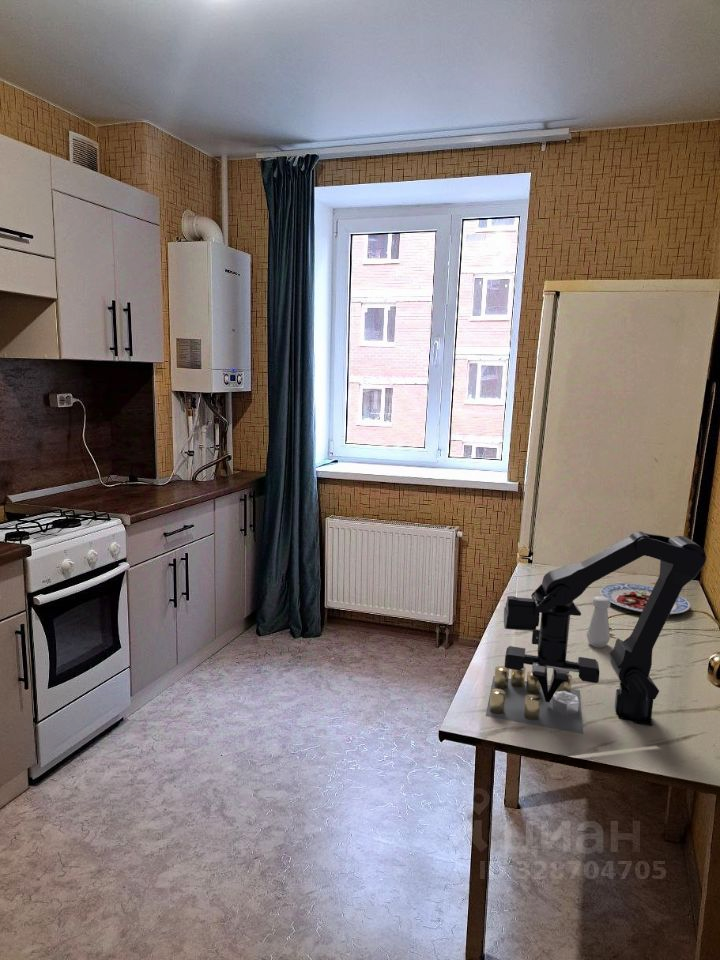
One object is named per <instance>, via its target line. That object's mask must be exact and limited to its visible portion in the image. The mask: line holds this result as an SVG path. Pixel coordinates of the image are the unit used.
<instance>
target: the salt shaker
mask: <svg viewBox="0 0 720 960" xmlns="http://www.w3.org/2000/svg"><path fill="white" fill-rule="evenodd" d="M592 606H594V609H593V612H592V616H591V618H590V622H589V623H588V624H589V625H588V628H587V631H586V637H587V641H588V644H589V645H590V646H592V647H594V648H600V649H603V648H605V647H606V646H607V645H608V643H609V642H610V639H611V633H610V623H609V615H608V614H609V612H608V611H609V610H608V609H609V608H610V607H611V602H610V600H609V599H608V598H606V597H602V595H599V596H594V597H593V598H592Z"/></svg>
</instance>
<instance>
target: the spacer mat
mask: <svg viewBox="0 0 720 960" xmlns="http://www.w3.org/2000/svg"><path fill="white" fill-rule="evenodd" d="M494 681H495V675H493V677H492V681H491V687H490V692H489V697H488V701H487V706H486V711H485V716H486V717H489V718H495V719H500V720H505V721H512V722H517V723H523V724H527V725H534V726H539V727H543V728H544V727H545V728H551V729H553V730H554V729H555V730H560V731H565V732H570V733H571V732H572V733H577V734H582V735H583V734H584V724H583V712H582V700H581V690H580V689H574V688H571V694H574V695H576V696H577V697H578V702H579V705H578V713H576V714H570V715H564V714H562V713H559V712H557V711H554V710H553V708H552V699H551V700H550V702H546V701H545V698H544V694H543V690H542V687H540V693H539V694H530V693H528V692H527V691H526V685H527V680H525V681H524V686H523V687H515V686H512V685H511V678H509V677H508V687H507V688H506V689H501V690H503V691H504V692H505V707H504V713H502V714H495V713H492V712H491V711H490V695H491V690H492V689H500V688H497V687H495V686H494ZM549 687H550V684H548V691H549ZM556 692H557V690H556ZM526 695H536V696H538V697H539V698H540V711H539V719H538V720H529V719H527V718H525V717H524V708H525V697H526Z"/></svg>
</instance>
